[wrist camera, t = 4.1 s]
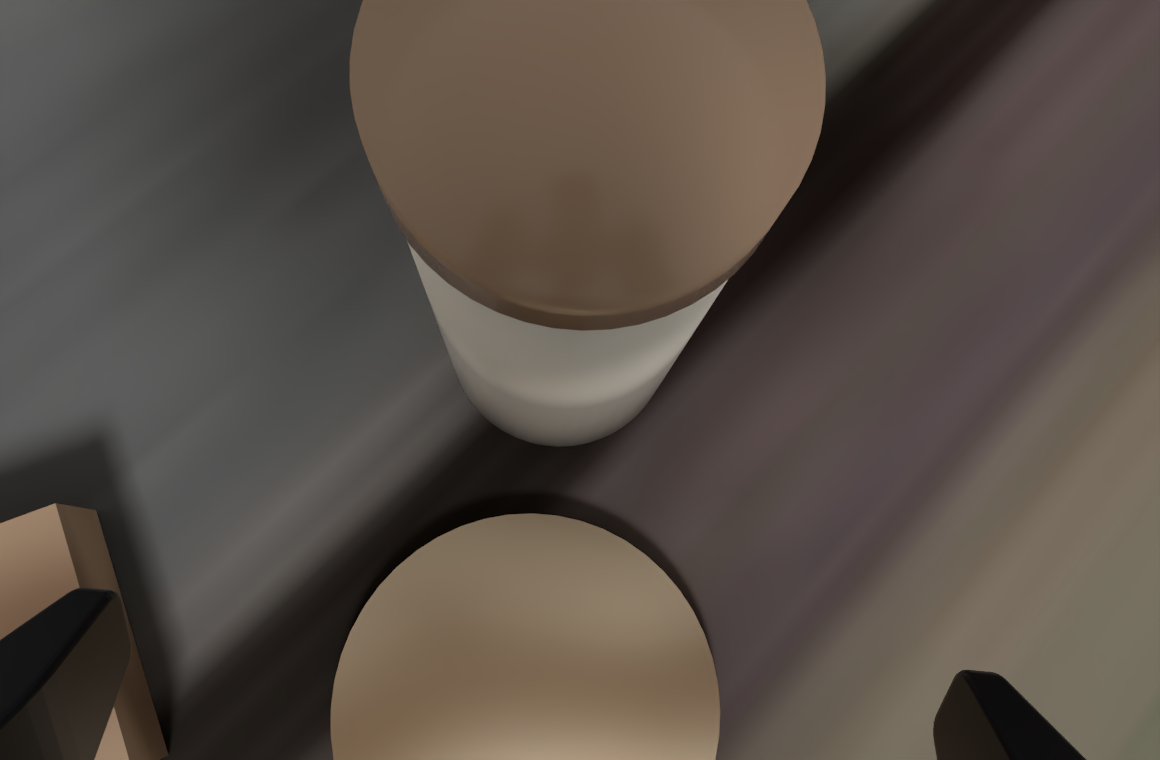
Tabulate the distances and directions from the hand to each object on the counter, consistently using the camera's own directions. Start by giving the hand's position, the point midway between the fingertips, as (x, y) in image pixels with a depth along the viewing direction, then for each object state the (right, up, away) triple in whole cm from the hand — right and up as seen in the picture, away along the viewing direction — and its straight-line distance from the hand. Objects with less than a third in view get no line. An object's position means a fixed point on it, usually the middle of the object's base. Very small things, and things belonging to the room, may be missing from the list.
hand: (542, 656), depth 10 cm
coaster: (-1, -5, +12) cm, 13 cm away
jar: (0, +4, +14) cm, 15 cm away
